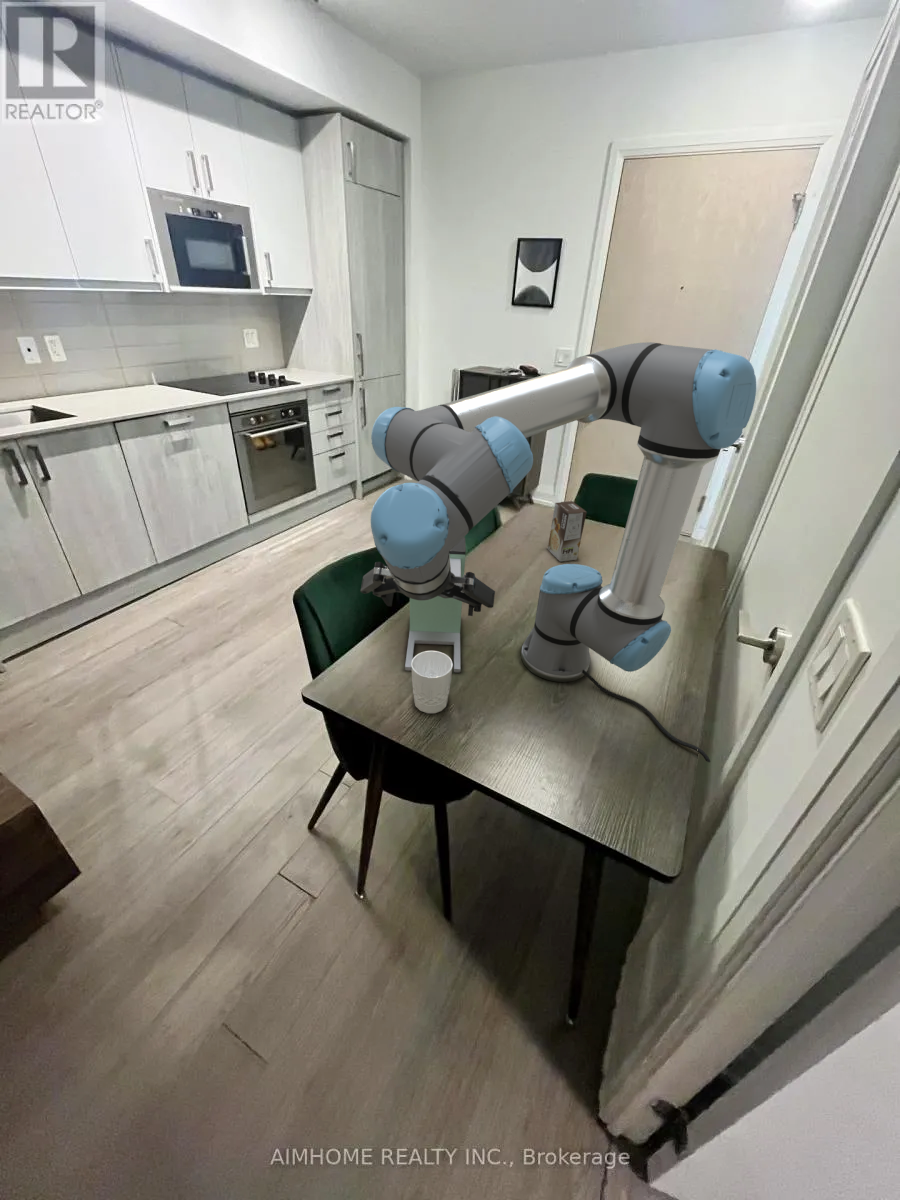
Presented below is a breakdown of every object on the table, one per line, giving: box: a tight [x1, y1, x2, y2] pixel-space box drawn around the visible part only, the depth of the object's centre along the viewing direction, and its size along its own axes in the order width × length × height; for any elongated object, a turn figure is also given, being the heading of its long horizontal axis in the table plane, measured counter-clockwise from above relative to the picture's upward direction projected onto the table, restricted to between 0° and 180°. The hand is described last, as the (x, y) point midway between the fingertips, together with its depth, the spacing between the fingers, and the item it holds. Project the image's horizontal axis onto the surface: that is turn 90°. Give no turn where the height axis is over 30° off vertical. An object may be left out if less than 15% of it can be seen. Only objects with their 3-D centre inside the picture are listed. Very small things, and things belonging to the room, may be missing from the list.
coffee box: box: [547, 500, 588, 562], centre depth 150 cm, size 9×6×16 cm
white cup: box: [411, 650, 454, 714], centre depth 95 cm, size 8×8×10 cm
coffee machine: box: [404, 536, 467, 673], centre depth 107 cm, size 20×12×23 cm, turn 0°
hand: (430, 603), depth 81 cm, fingers open, 13 cm apart
